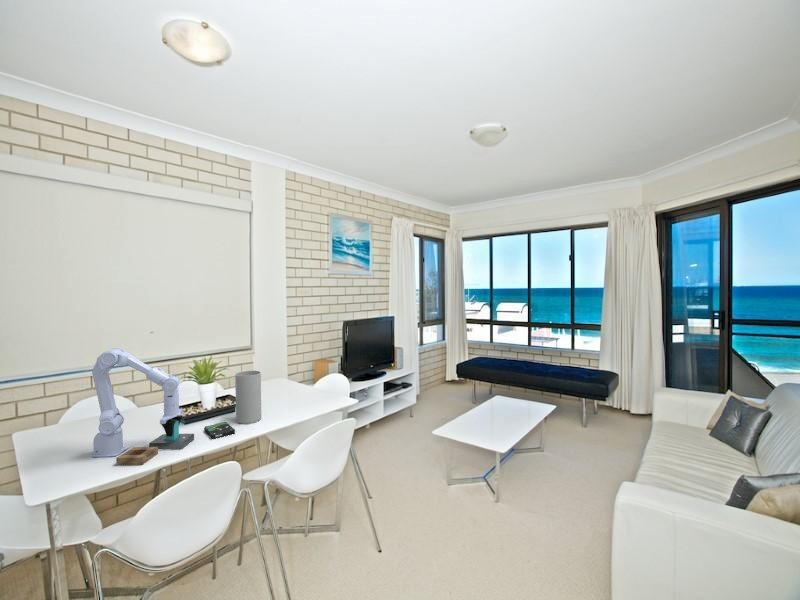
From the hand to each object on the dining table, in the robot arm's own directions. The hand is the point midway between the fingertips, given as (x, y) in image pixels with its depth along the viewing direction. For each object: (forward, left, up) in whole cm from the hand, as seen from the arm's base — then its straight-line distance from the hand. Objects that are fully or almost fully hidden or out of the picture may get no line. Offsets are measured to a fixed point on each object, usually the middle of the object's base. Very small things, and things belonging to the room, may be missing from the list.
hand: (172, 434), depth 166 cm
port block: (0, 0, -5) cm, 5 cm away
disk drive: (+15, +14, -6) cm, 21 cm away
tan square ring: (-6, -14, -5) cm, 16 cm away
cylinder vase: (+23, +30, -5) cm, 38 cm away
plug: (0, 0, -4) cm, 5 cm away
